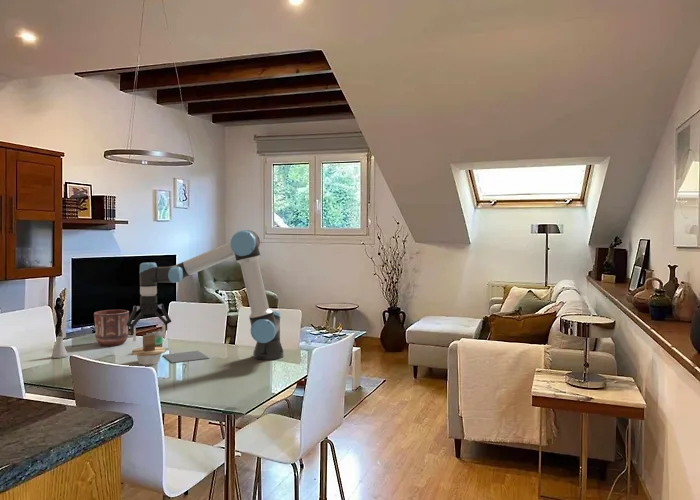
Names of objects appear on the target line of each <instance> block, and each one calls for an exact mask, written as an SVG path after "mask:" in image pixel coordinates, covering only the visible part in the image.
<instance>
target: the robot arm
mask: <svg viewBox="0 0 700 500" xmlns="http://www.w3.org/2000/svg"><path fill="white" fill-rule="evenodd" d="M260 245H261V241H260V237H259V235H258V234H257V233H256V232H255V231H253V230H249V229H248V230H245V229H244V230H239V231H237V232H236V233H234V234H233V235H232V236H231V239H230V241H229V242H227V243H224V244H222V245H220V246H218V247H215V248H212V249H210V250H208V251H206V252H205V251H204V252H203V253H201V254H199V255H196V256H194V257H191V258H189V259H187V260H184V261H181V262H179V263H177V264H175V265H169V266H158V265H157V263H156V262H142V263H140V264H139V272H138V273H139V294H140V297H139V303H140V305H137V306H136V305H133V307H132V312H131V313H130V314H129V319H128V322H127V324H126V326H128V328H130V334H131V335H132V341H133V342H137V340H136V339H137V337H136V336H137V335H136V334H137V331H136V330H137V329H136V325H137V323H139V321H140V320H141V318H143V317H144V315H146V316H148V315H155V316H156V317H157V318H158V319H159V320H160V321H161V322H163V323H162V324H161V329H162V335H163V339H166V332H167V331H168V324H170V323H172V320H171V317H170V316H169V314H168V313H167V310H166V309H165V305H164V304H163V303H160V304H158V296H157V294H158V288H157V287H158V283H172V284H175V283H181V282H182V281H183V279H185V278H187V277H189V276H192V275H193V274H194V275H195V274H197V273H199V272H201V271H204V270H206V269H208V268H211V267H213V266H215V265H218V264H220V263H222V262H224V261H227V260H229V259H232V258H235V261H236V262H237V263H238V264H239V265H240V269H241V272H242V277H243V281H244V286H245V290H246V294H247V299H248V304H249V308H250V314H249V316H248V317H249V319H248V320H249V322H250V335H251V337H252V339H253V340H254V341H256V344H255V346H254V350H253V356H252V357H253V358H254V359H257V360H261V361H262V360H263V361H264V360H266V361H267V360H268V361H269V360H270V361H271V360H278V359H281V358H283V357H284V354H285V353H284V349H283V346H282V342H281V318H282V317H281V313H280V311H275V310H272V309H271V308H270V306H269V301H268V297H267V294H266V293H267V292H266V289H265V285H264V281H263V276H262V271H261V268H260V263H259V262H260V261H259V258H260V257H261V253H260ZM158 309H160V310H161V312H162V314H163V316H164V317H165V318H164V317H163V316H162V315H161V314H160V313H159V312H158V311H157V310H158ZM139 310H140V312H139V313H138V315H137V316H136V317H135V315H136V314H137V312H138V311H139ZM134 318H135V319H134Z"/></svg>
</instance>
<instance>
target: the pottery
mask: <svg viewBox="0 0 700 500" xmlns="http://www.w3.org/2000/svg"><path fill="white" fill-rule="evenodd" d="M129 317H130V311H129V310H128V309H127V310H126V309H106V310H99V311H95V312H94V313H93V318H94V319H93V320H94V330H95V331H94V332H95V335H94V336H95V340H96V342H97V343H98V344H99V345H100V346H102V347H117V346H122V345H123V344H125V343H126V341H127V340H128V338H129V327H128V326H126V324H127V322H128V319H129Z"/></svg>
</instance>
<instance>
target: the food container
mask: <svg viewBox="0 0 700 500" xmlns="http://www.w3.org/2000/svg"><path fill="white" fill-rule="evenodd" d="M152 334H153V335H154V336H155V347H163V341H164V338H163V335H162V328H158V329H157V330H156V331H151V332H146V333H145V335H152Z"/></svg>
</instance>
